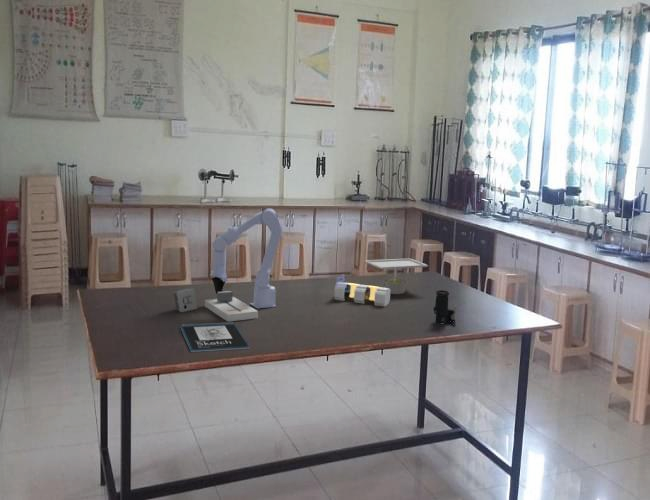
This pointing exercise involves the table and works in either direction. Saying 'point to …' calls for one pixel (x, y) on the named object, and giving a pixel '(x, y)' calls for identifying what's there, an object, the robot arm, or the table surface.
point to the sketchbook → (213, 337)
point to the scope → (443, 308)
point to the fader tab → (224, 296)
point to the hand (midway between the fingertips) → (218, 293)
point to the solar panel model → (395, 271)
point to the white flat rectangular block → (231, 309)
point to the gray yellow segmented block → (361, 292)
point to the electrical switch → (185, 300)
